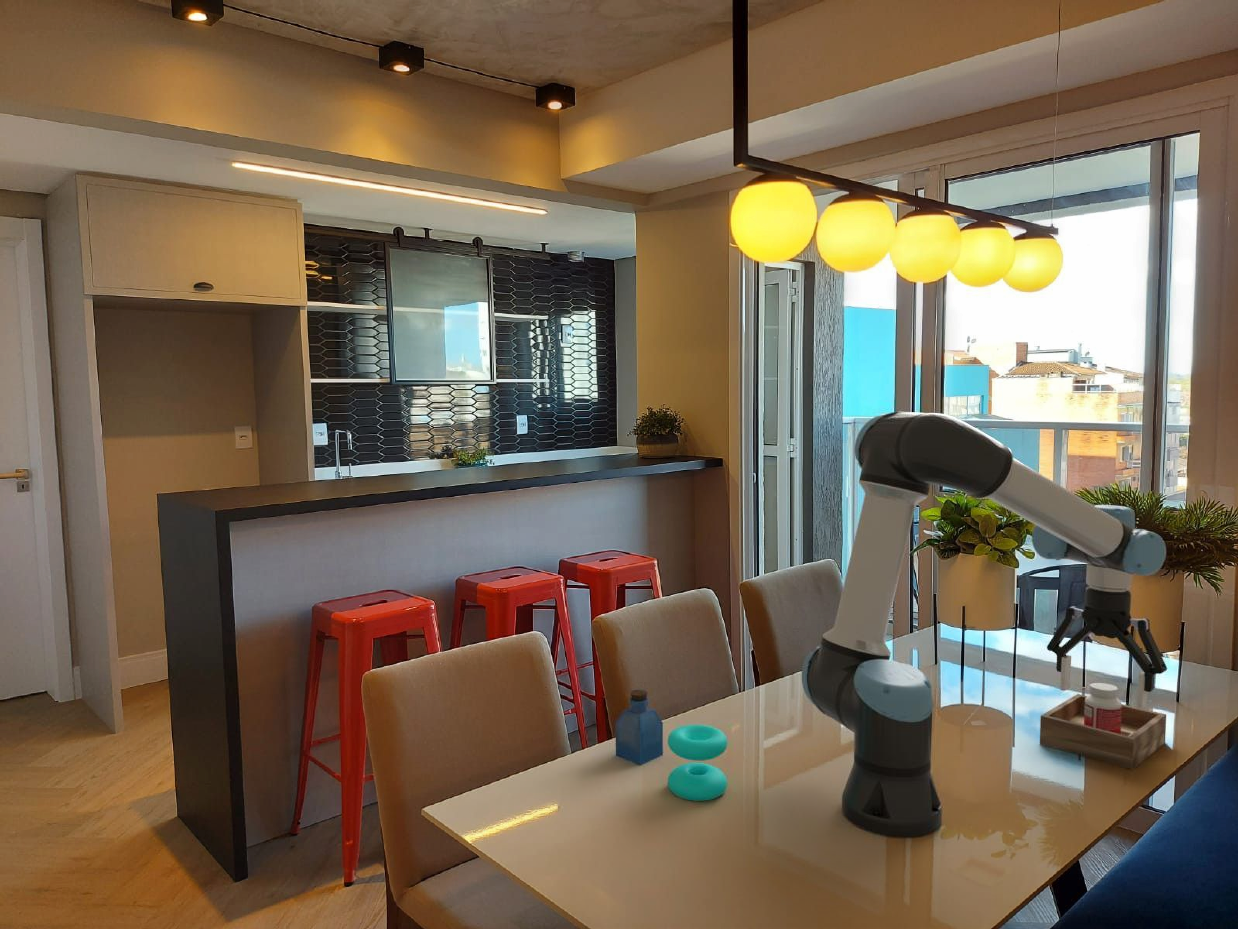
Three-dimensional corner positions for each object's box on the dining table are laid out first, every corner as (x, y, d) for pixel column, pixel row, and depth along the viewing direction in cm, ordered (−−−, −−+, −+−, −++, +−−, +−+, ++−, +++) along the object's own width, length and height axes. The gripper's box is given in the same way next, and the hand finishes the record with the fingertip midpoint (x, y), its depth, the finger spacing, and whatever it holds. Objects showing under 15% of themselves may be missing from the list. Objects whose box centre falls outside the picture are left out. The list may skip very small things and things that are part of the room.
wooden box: (1132, 769, 157) (1133, 739, 156) (1039, 743, 168) (1040, 715, 168) (1165, 742, 169) (1166, 714, 168) (1076, 720, 180) (1077, 694, 180)
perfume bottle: (662, 755, 164) (662, 692, 163) (640, 765, 160) (640, 700, 159) (637, 746, 168) (637, 684, 168) (615, 756, 164) (615, 693, 163)
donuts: (675, 719, 155) (732, 725, 152) (675, 774, 156) (731, 781, 153) (661, 740, 145) (721, 747, 143) (661, 799, 146) (721, 807, 143)
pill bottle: (1126, 745, 168) (1129, 687, 167) (1109, 752, 164) (1111, 694, 164) (1094, 734, 173) (1096, 679, 172) (1076, 741, 169) (1078, 684, 169)
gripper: (1190, 596, 160) (1183, 711, 161) (1048, 575, 178) (1043, 678, 179) (1177, 602, 154) (1170, 720, 156) (1032, 579, 173) (1027, 686, 174)
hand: (1102, 698), depth 168 cm, fingers open, 13 cm apart
